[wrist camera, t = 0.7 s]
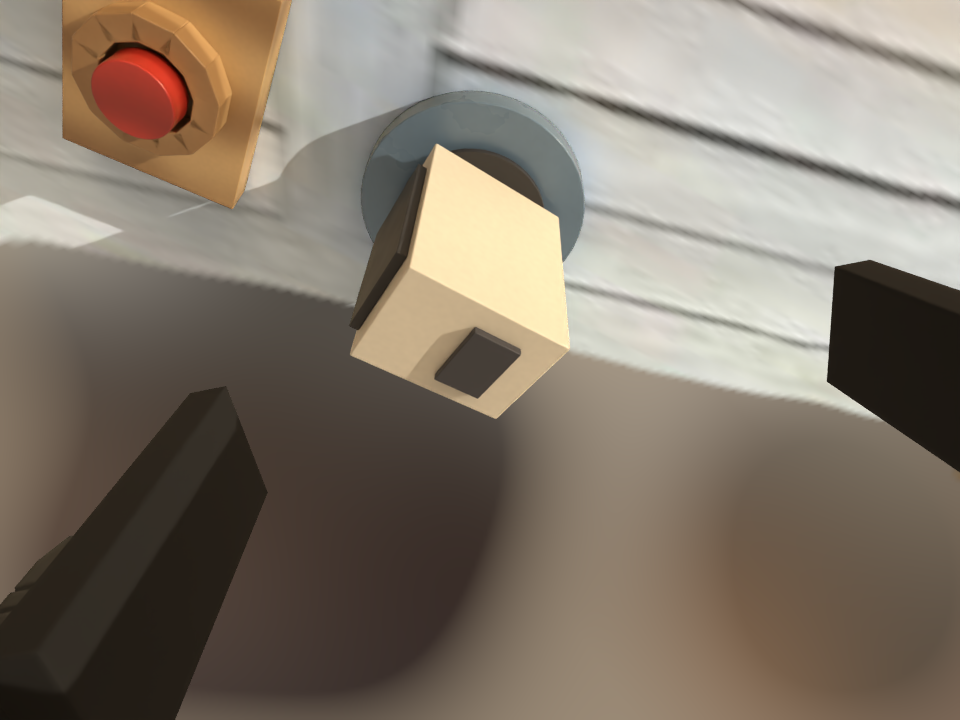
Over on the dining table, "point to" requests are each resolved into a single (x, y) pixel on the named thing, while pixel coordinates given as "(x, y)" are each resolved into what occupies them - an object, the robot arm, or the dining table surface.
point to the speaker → (465, 283)
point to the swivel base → (476, 127)
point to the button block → (204, 70)
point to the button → (140, 93)
